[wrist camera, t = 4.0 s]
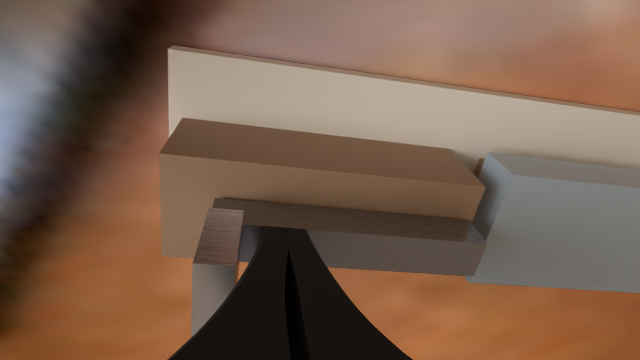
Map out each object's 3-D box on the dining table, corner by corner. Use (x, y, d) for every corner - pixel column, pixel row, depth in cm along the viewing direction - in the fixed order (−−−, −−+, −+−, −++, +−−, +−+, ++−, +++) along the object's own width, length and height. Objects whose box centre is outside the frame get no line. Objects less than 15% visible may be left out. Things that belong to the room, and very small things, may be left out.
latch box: (614, 272, 23) (681, 331, 19) (174, 241, 19) (149, 307, 15) (709, 122, 19) (816, 160, 15) (172, 45, 15) (138, 69, 11)
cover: (621, 264, 20) (655, 293, 18) (449, 252, 18) (468, 282, 16) (677, 174, 17) (722, 197, 16) (487, 151, 16) (513, 174, 14)
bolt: (453, 261, 15) (504, 346, 12) (212, 244, 14) (191, 335, 10) (474, 208, 14) (537, 284, 11) (215, 184, 13) (192, 262, 9)
